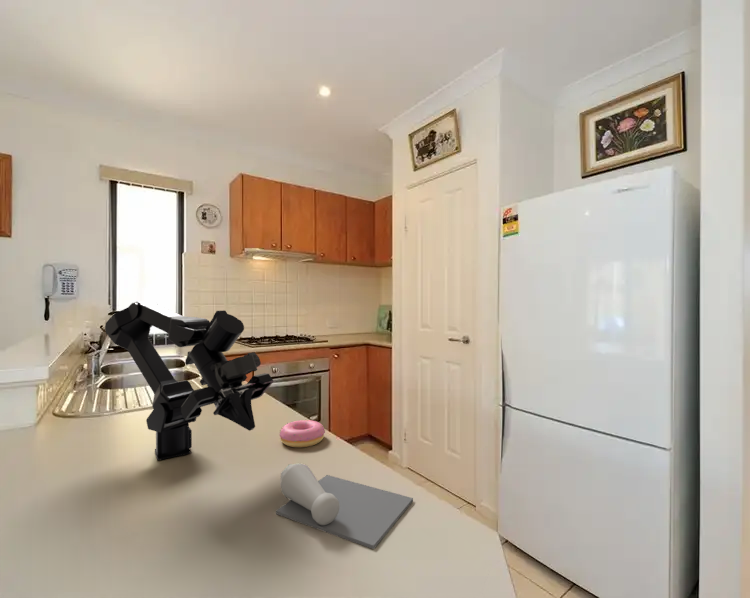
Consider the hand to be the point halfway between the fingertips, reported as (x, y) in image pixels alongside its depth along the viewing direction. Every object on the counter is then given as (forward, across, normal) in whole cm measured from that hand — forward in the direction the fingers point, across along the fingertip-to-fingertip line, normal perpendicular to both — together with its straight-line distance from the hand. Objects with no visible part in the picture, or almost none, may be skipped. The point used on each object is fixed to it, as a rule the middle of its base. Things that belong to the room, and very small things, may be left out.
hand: (252, 428), depth 73 cm
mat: (+22, 0, -8) cm, 23 cm away
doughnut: (+4, +20, +10) cm, 23 cm away
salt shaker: (+12, -1, -3) cm, 12 cm away
